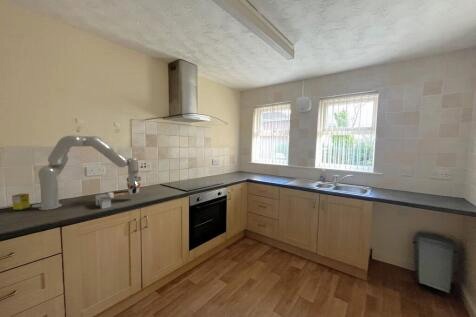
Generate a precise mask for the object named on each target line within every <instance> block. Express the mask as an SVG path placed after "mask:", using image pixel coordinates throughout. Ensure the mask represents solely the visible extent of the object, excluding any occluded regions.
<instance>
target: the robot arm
mask: <svg viewBox="0 0 476 317" xmlns="http://www.w3.org/2000/svg"><path fill="white" fill-rule="evenodd" d="M72 147H73V148H75V147H76V148H79V147H82V148H83V147H91V148H93V149H94V150H96V151H98V153H100V154H102V155H103V156H104V157H105V158H106V159H108V160H109V161H110V162H112V163H113V164H114V165H116V166H117V167H118V168H125V167H127V174H128V175H127V176H128V177H127V178H128V184H129V186H130V189H132V193H133V194H132V195H135V194H134V193H136V189H137V186H138V184H139V182H138V177H139V174H138V173H139V171H138V170H139V162H138V161H139V160H138V158H137V157H130V158H129V157H128V158H127V157H123V156H121V155H120V154H119V153H118V152H116V151H115V150H114V148H113V147H112V146H111V145H109V144H107V143H106V142H105V141H104V140H103V139H102V137H100V136H97V135H92V136H91V135H89V136H87V135H86V136H84V135H82V136H81V135H65V136H63V137H61V138H60V139H59V140H58V141H57V143H56V145H55V146H54V147H53V150H52V151H51V153H50V154H49V156H48V158H47V162H48V164H47V165H44V166H43V167H41V168H39V170H38V172H37V173H38V174H37V175H38V180H39V187H40V202H39V203H37V204H36V203H35V204H32V207H31V208H38V210H40V211H49V210H54V209H58V208H60V207H62V206H63V204H62V203H60V201H59V200H60V198H59V197H60V196H59V183H58V182H59V181H58V178H57V176H58V177H59V175H60V174H61V173H62V172H63V170H64V168H65V166H66V164H67V163H68V160H69V156H68V154H69V152H70V149H71V148H72Z"/></svg>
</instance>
